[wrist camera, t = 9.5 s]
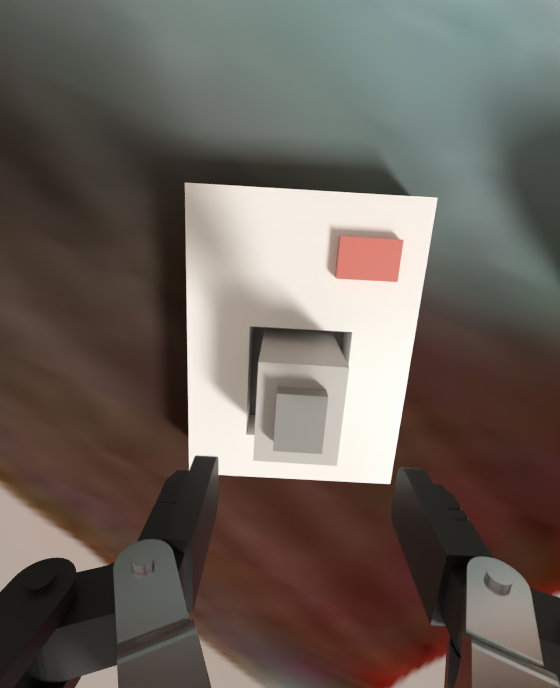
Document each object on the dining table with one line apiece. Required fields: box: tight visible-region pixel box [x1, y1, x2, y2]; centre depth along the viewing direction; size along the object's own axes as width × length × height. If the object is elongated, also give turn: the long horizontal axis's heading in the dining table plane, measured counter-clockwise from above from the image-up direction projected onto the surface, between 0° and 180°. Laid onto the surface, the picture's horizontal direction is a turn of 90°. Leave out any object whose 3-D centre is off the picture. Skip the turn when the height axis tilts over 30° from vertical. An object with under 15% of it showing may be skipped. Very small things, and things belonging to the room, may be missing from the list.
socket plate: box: [185, 183, 438, 484], centre depth 21 cm, size 16×12×4 cm
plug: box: [253, 328, 349, 466], centre depth 20 cm, size 5×4×7 cm
